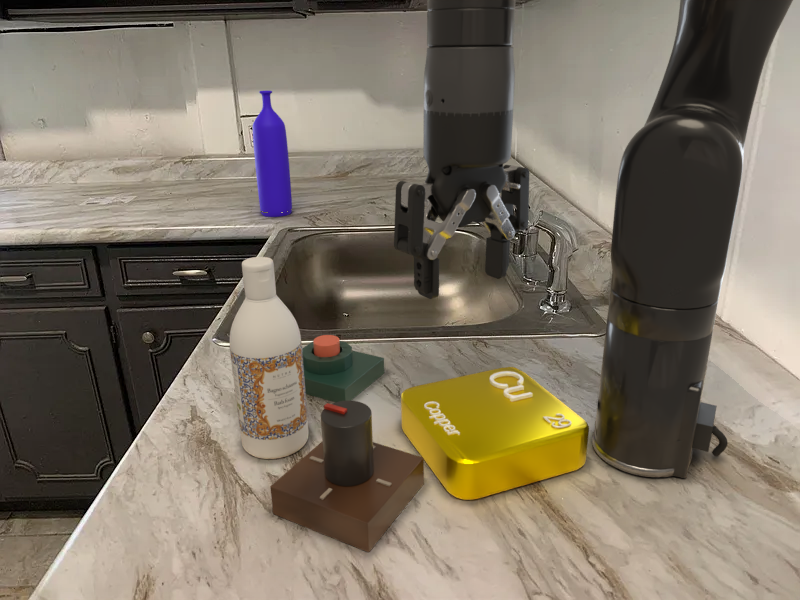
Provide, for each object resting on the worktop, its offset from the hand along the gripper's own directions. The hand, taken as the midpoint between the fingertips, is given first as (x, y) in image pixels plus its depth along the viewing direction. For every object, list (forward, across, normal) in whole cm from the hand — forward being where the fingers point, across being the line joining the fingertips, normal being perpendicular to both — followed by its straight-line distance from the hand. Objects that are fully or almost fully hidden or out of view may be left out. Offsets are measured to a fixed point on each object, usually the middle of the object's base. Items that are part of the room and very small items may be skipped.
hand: (463, 285), depth 59 cm
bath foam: (+18, -15, +12) cm, 26 cm away
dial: (+15, -13, 0) cm, 20 cm away
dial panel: (+18, -13, 0) cm, 22 cm away
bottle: (+18, +33, +106) cm, 112 cm away
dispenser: (+18, -3, +21) cm, 28 cm away
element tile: (+18, +3, -2) cm, 18 cm away
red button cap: (+14, -3, +21) cm, 25 cm away
